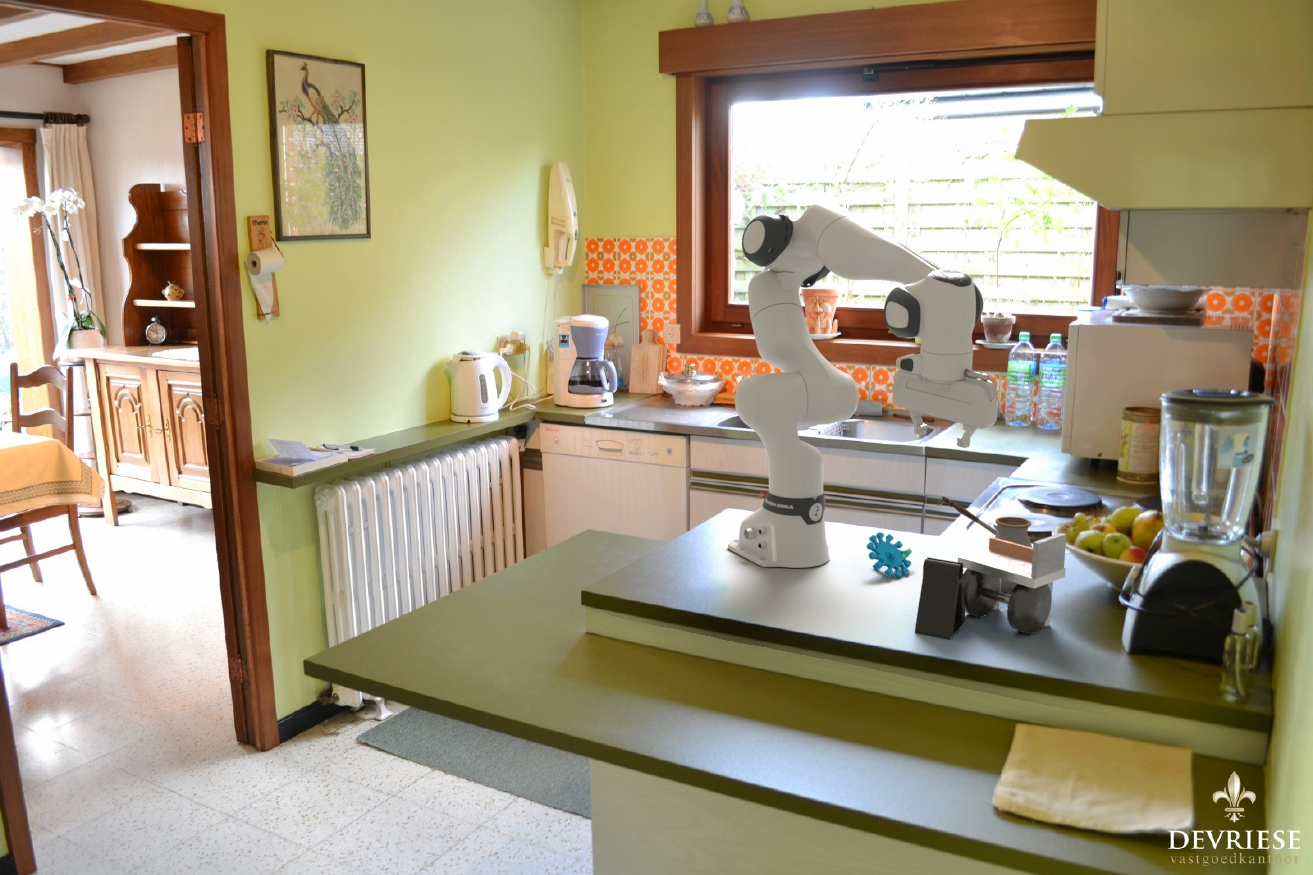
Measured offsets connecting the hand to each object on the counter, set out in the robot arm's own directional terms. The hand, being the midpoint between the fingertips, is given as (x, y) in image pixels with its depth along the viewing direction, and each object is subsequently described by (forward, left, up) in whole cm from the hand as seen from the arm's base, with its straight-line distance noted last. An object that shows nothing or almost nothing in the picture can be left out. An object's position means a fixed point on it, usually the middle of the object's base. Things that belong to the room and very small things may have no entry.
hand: (941, 440), depth 182 cm
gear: (-15, +6, -30) cm, 34 cm away
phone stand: (+9, -10, -30) cm, 33 cm away
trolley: (+15, +1, -30) cm, 33 cm away
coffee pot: (0, +16, -30) cm, 34 cm away
